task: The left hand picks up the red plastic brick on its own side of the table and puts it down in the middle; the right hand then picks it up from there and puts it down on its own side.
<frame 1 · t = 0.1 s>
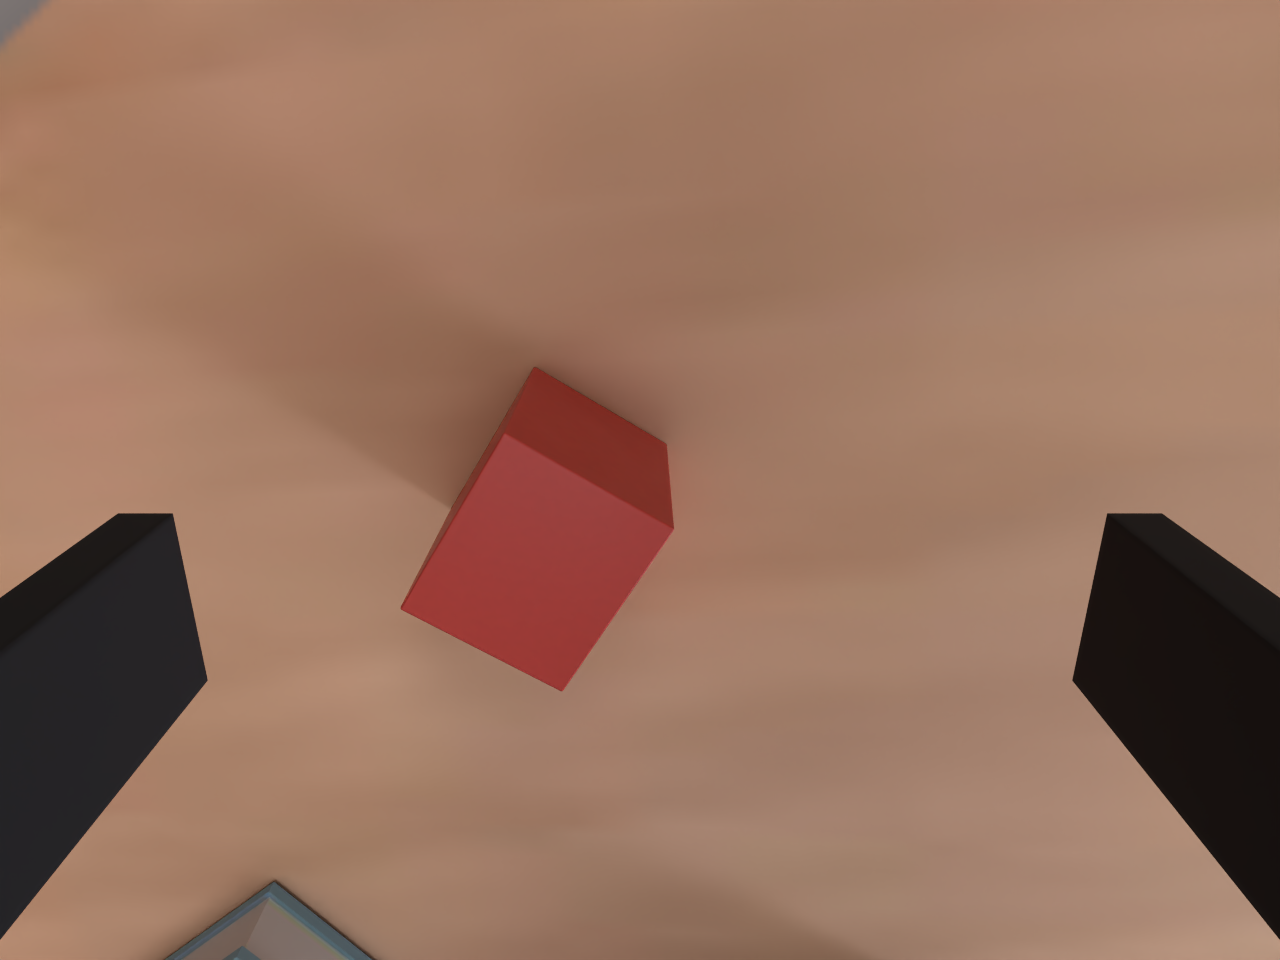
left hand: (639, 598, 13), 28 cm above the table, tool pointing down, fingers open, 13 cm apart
brick: (557, 477, 42), on the table
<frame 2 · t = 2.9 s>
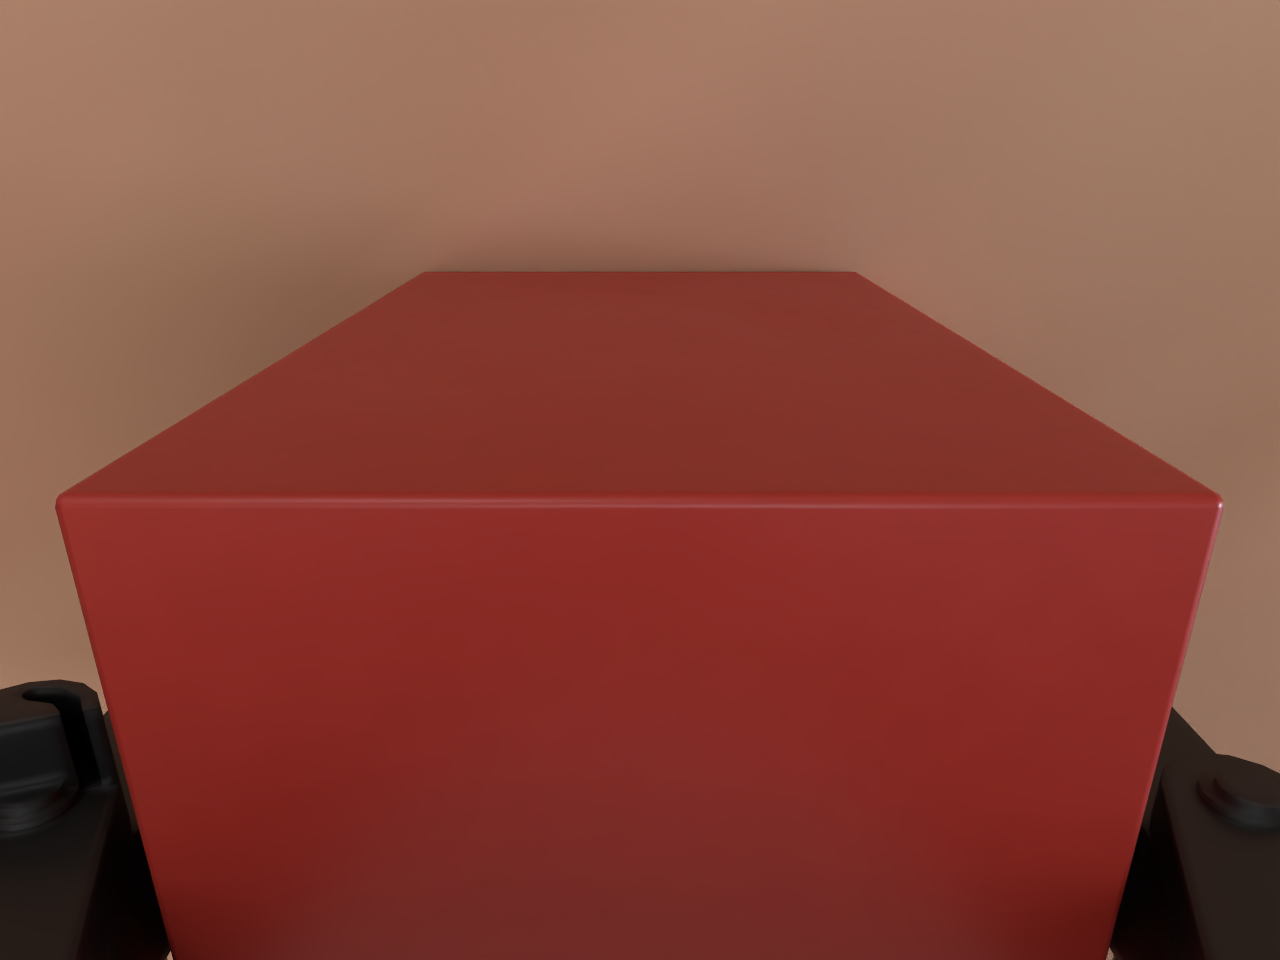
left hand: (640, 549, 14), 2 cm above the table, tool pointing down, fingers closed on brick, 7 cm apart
brick: (639, 506, 16), on the table, touching left hand
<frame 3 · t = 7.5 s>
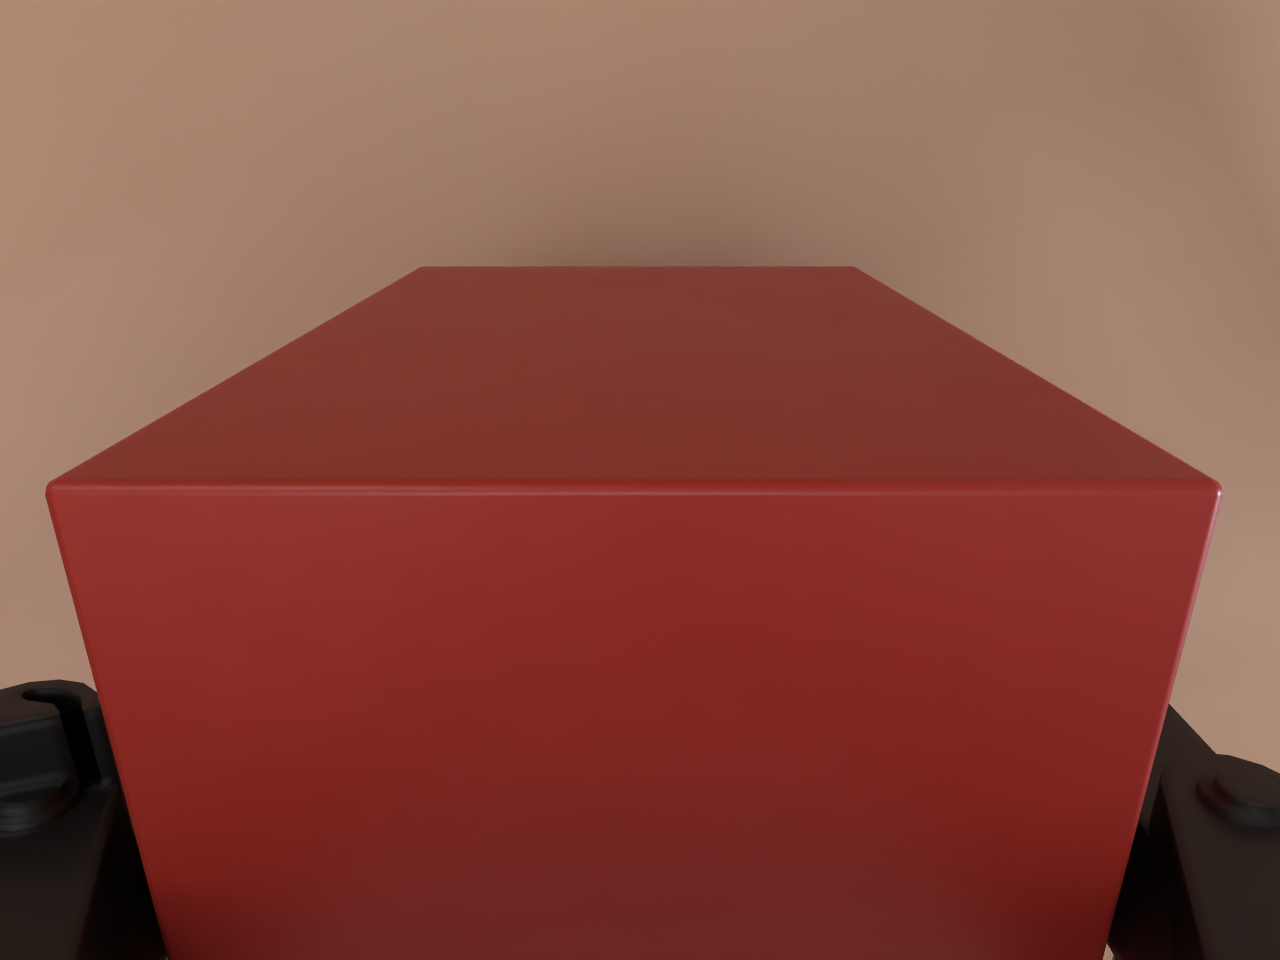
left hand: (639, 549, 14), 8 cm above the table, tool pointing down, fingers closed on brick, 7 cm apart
brick: (637, 502, 16), point 6 cm above the table, touching left hand
when the left hand's fingers open (3 cm above the table, at t = 12.1 s): brick drops 2 cm, on the table.
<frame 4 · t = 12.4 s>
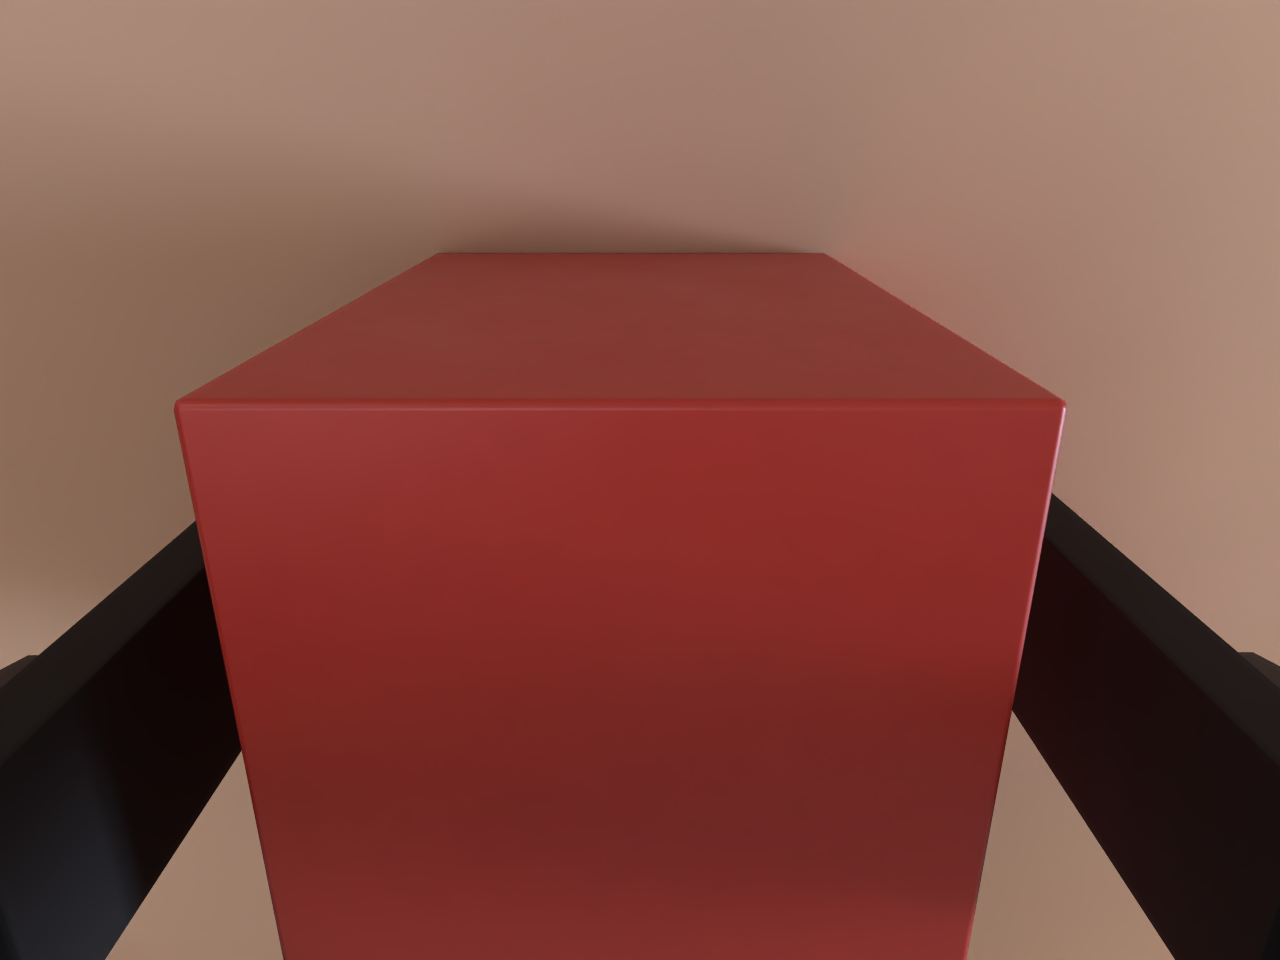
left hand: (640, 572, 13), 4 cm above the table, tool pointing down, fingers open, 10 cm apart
brick: (632, 467, 17), on the table
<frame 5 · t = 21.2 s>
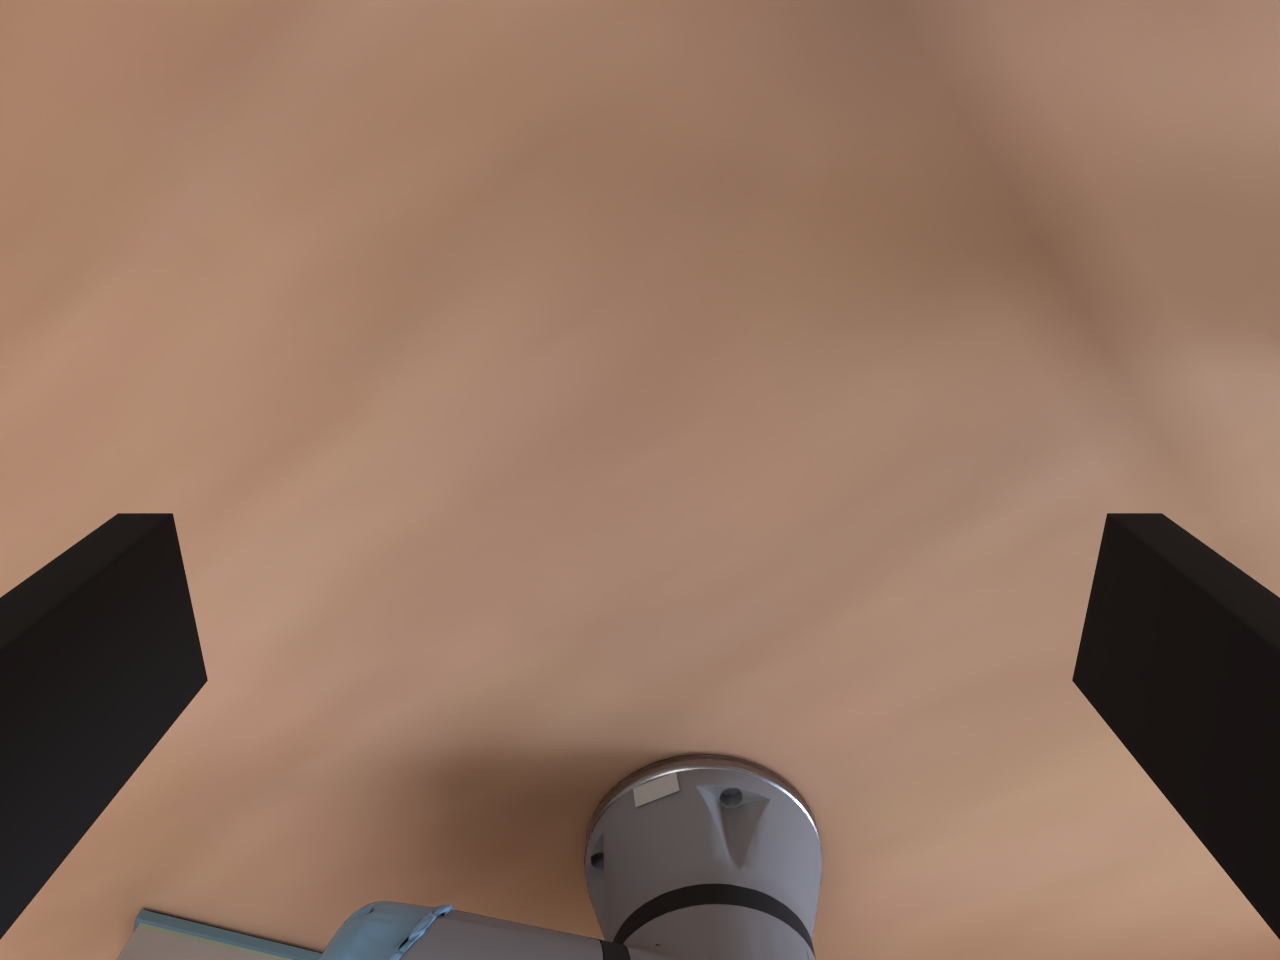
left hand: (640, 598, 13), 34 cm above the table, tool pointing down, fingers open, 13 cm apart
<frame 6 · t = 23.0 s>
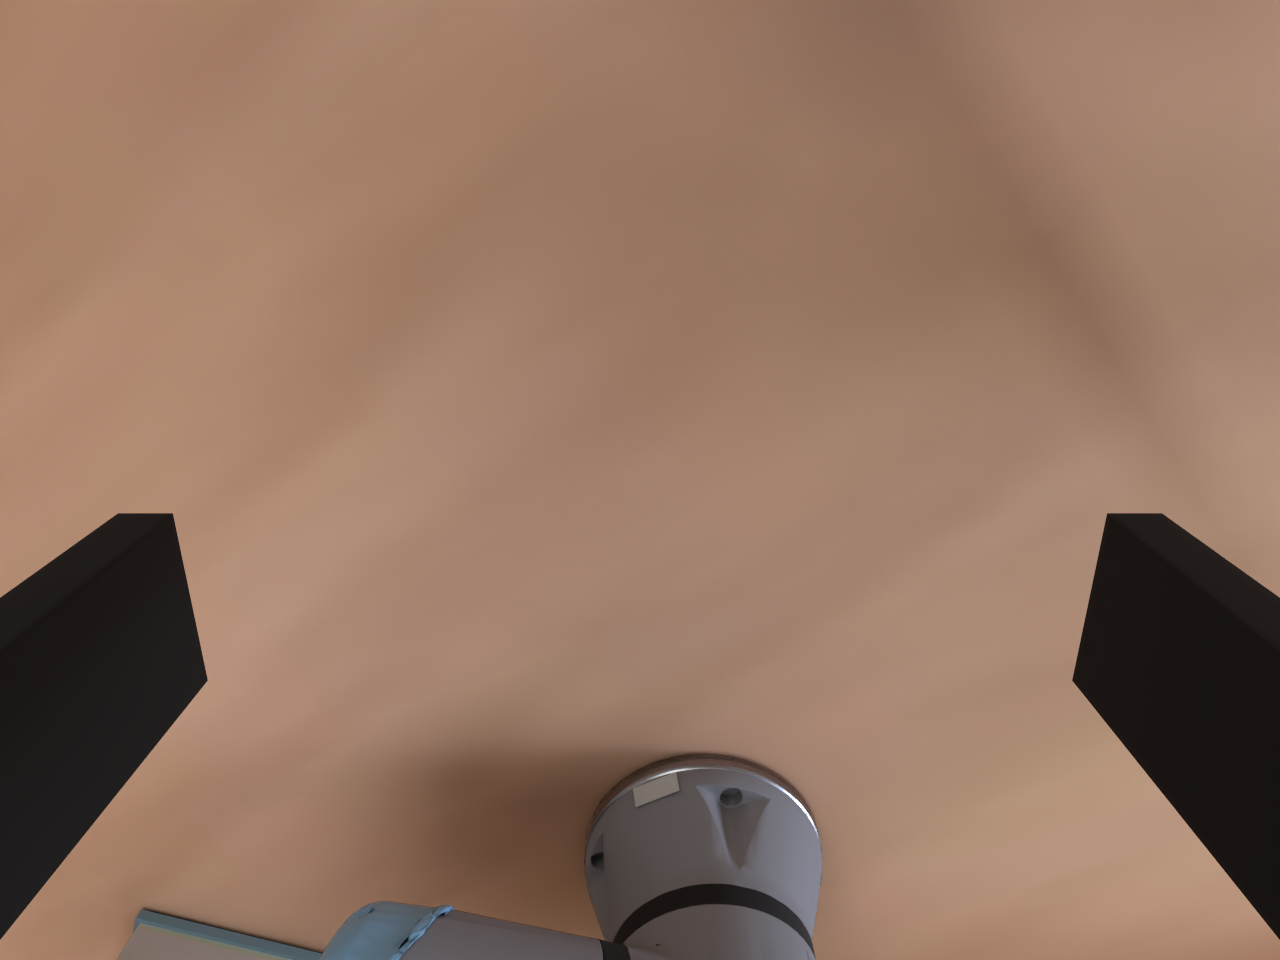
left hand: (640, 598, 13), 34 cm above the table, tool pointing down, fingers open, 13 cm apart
when the right hand's fingers open (3 cm above the table, at t = 24.9 s): brick drops 2 cm, on the table.
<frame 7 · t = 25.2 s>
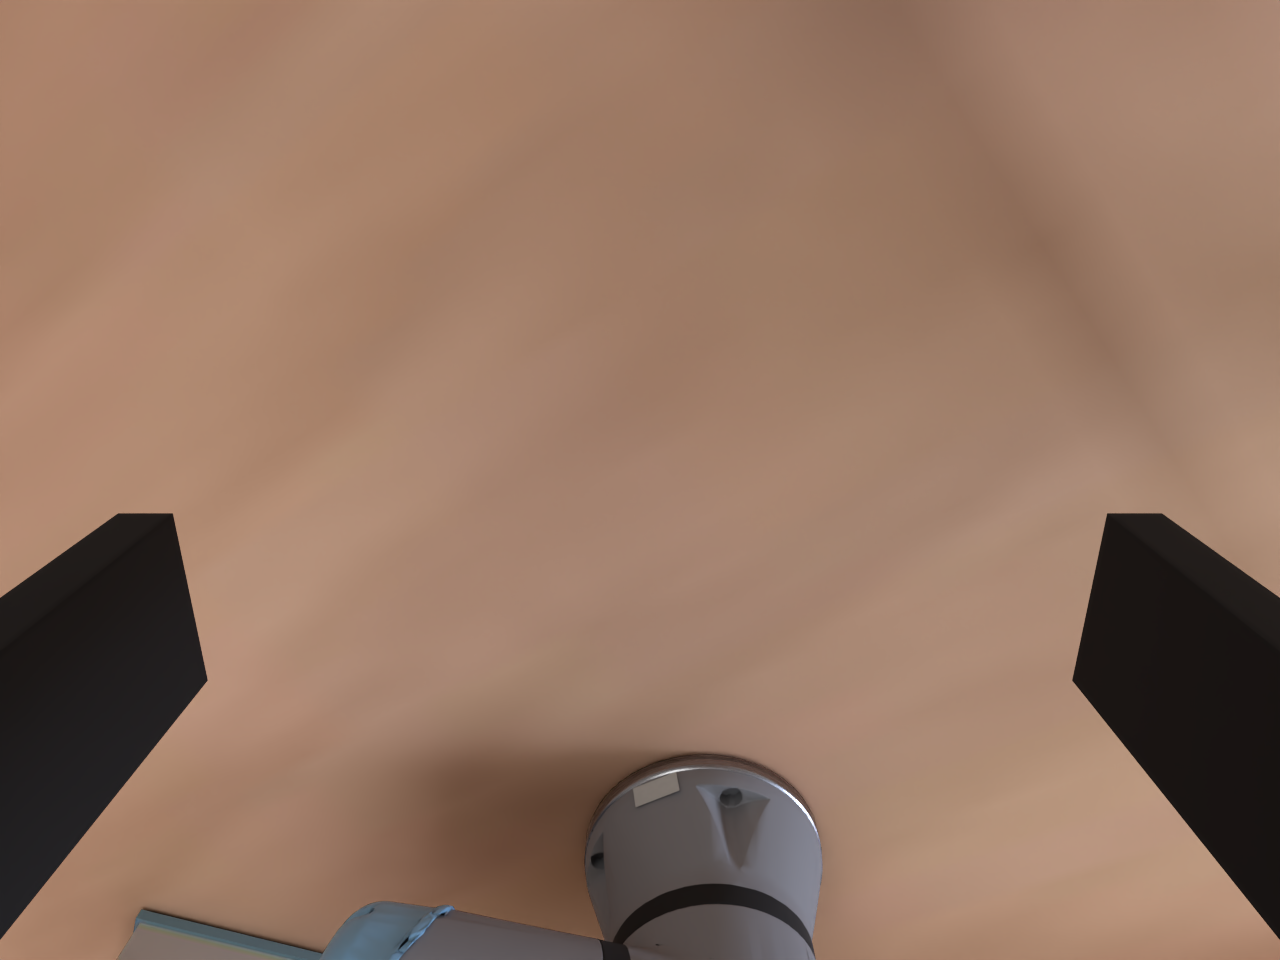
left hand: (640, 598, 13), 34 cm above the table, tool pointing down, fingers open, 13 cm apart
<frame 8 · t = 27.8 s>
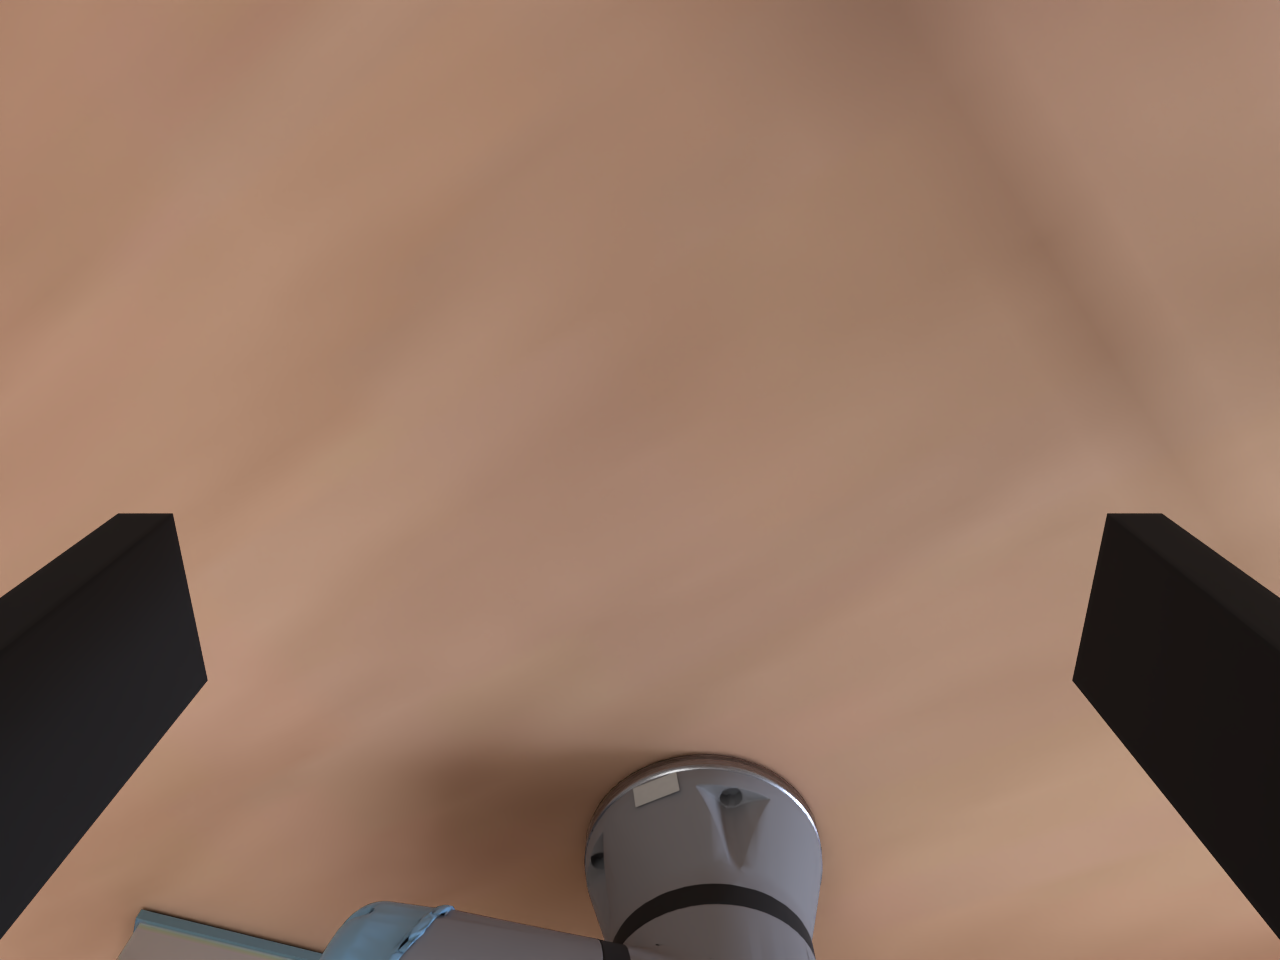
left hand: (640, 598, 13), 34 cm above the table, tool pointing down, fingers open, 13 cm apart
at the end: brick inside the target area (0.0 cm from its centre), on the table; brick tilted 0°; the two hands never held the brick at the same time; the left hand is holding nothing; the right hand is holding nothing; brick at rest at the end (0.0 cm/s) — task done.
